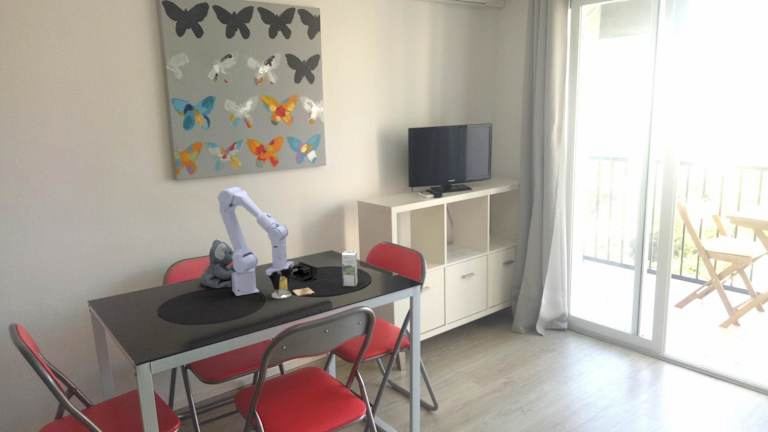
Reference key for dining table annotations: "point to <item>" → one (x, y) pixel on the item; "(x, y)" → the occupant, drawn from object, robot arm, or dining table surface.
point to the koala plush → (219, 266)
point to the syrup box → (349, 268)
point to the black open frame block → (304, 272)
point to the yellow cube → (283, 283)
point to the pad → (303, 291)
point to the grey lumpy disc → (281, 294)
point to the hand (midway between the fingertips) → (281, 287)
